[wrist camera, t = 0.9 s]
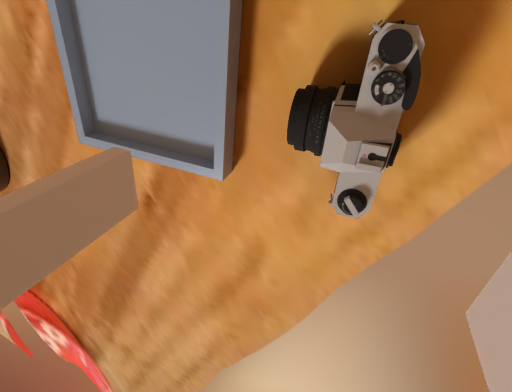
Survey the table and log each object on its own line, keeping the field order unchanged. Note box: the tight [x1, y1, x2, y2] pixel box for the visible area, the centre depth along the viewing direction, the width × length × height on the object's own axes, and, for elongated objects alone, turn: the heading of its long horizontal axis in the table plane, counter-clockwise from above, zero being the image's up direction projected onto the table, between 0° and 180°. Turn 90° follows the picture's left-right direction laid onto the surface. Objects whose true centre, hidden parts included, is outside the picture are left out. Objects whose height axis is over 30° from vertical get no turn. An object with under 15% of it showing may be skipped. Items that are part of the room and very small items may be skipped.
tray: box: [46, 0, 243, 181], centre depth 27 cm, size 18×18×2 cm
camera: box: [287, 20, 425, 219], centre depth 21 cm, size 13×8×9 cm, turn 0°
